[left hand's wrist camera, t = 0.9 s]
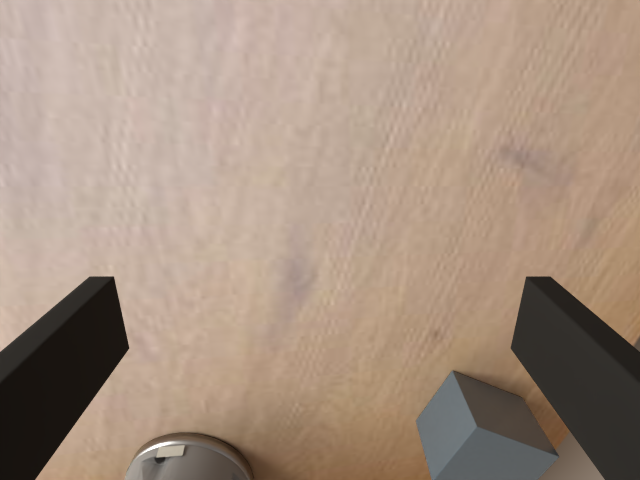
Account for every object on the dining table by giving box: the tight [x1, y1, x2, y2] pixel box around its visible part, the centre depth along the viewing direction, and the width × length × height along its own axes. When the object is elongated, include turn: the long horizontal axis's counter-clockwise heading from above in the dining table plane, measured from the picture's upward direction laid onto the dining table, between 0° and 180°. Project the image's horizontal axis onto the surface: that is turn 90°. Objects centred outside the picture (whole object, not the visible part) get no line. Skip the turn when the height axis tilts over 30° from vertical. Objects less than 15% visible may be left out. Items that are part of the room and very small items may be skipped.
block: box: [416, 371, 559, 480], centre depth 42 cm, size 9×8×8 cm
